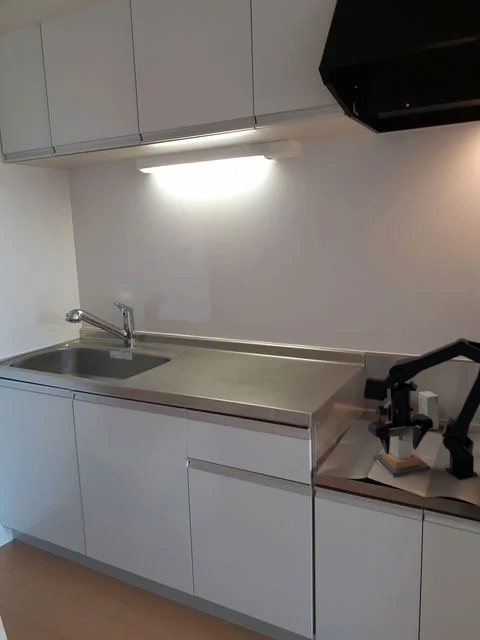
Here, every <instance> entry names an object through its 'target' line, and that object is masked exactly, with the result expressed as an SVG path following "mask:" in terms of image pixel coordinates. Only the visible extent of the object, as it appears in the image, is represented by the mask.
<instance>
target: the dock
mask: <svg viewBox="0 0 480 640" xmlns="http://www.w3.org/2000/svg"><path fill="white" fill-rule="evenodd" d="M372 459H373V460H374V461H375V460H378V461H379V462H380V463H381V464H382V465H383V466H384V467H385V468H386V469H387V470H388V471H389V472H390V473H391V474H392V475H393V476H392V475H391V474H390V473H389V472H388V471H387V472H388V473H389V474H390V475H391V476H392V477H396V476H395V475H398V476H404V475H408V473H409V474H412V473H418V472H419V473H420V472H424V471H430V470H431V466H430V465H428V463H426V462H425V461H424V460H423V459H421V458H420V457H419V456H417V454H415V453H413V452H412V451H411V458H409V459H403V460H398V461H397V460H396V459H395V458H393V457H392V456H391V449H389V454H388V455H387V454H386V453H385V451H384V450H382V451H381V453H380V454H375V455H373V458H372Z"/></svg>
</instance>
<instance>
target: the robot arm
mask: <svg viewBox="0 0 480 640" xmlns="http://www.w3.org/2000/svg"><path fill="white" fill-rule="evenodd" d="M460 356H462V357H464V358H467V359H468V360H471V361H472V362H475V363H476V364H478V365H480V342H479V341H478V342H477V341H473V340H469V339H466V338H463V337H462V338H458V339H456V340H455V341H453V342H450V343H448V344H445V345H443V346H440V347H438V348H435V349H433V350H430V351H428V352H426V353H423V354H422V355H419V356H418V355H417V356H413V357H406V358H405V357H404V358H400V359H398V360H396V361H394V363H393V364H392V365H391V367H390V368H389V370H388V375H386V377H384V378H383V379H382V378H375V377H367V378H366V379H365V385H364V391H363V396H364V397H363V398H364V400H365V401H372V402H383V403H384V402H385V401H386V399H389V398H390V400H391V404H388V407H385V408H384V405H381V404H380V405H376V406H375V415H376V416H377V417H379V416H382V418H387V420H388V421H391V423H388V424H385V423H383V422H382V421H381V420H380V421H378V420H375V421H370V422H369V423H368V425H367V429H368V430H367V431H368V432H370V433H371V434H372V435H373V436H374V437H375V438H378V439H379V441H380V442H381V446H382V447H383V451H385V453H386V454H387V455H388V454H389V450H390V448H391V436H390V431H393V430H398V429H399V430H400V429H404V428H409V427H411V430H412V449H413V450H415V451H416V450H417V449H418V447H419V445H420V444H421V441H422V440H423V439H424V437H425V435H426V434H427V433H428V432H430V431H431V430H430V429H432V428H433V420H432V419H431V418H429V417H428V416H426V415H424V414H419V413H417V414H413V415H412V412H414V408H413V407H412V405H411V403H412V401H411V400H412V399H411V398H412V397H411V396H412V392H416V391H417V390H418V387H419V385H417V384H416V383H415V382H414V381H413V380H411V379H413V378H414V377H416V376H417V375H418V374H420V373H422V372H423V371H425V370H427V369H430V368H433V367H435V366H437V365H438V366H439V365H440V364H443V363H446V362H447V361H450V360H453V359H456V358H457V357H460ZM478 367H479V368H478V373H477V374H476V377H475V379H474V381H473V383H472V385H471V387H470V389H469V391H468V394H467V396H466V398H465V399H464V402H463V404H462V406H461V407H460V411H458V414H457V415H456V417H454V418H452V417H451V416H448V419H447V424H446V425H445V426H444V427H443V430H442V432H441V433H442V434H441V437H443V438H442V444H443V445H444V448H445V449H447V450H448V451H449V466H448V467H446V468H445V471H446V472H448V473H449V475H452V476H453V477H454V478H455V479H457V480H465V479H469V478H474V477H479V474H478V472H476V471H475V470H474V466H475V465H474V464H475V463H474V462H475V461H474V460H475V456H474V455H473V450H474V445H475V441H474V440H472V438H470V437H469V436H468V433H469V428H470V424H471V423H472V421H473V419H474V416H475V414H476V413H477V412H478V408H479V406H480V366H478ZM408 381H409V382H408ZM411 415H412V416H411Z"/></svg>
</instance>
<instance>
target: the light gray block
mask: <svg viewBox="0 0 480 640" xmlns="http://www.w3.org/2000/svg"><path fill="white" fill-rule="evenodd" d="M390 450H391V456H392V457H393V458H395V459H396V460H397V461H398V460H403V459H409V458H411V452H412V440H411V439H409V438H408V437H407V436H405V435H404V434H403V433H399V434H398V436H390Z"/></svg>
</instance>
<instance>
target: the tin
mask: <svg viewBox="0 0 480 640" xmlns="http://www.w3.org/2000/svg"><path fill="white" fill-rule="evenodd" d="M388 404H391V399H389V400H388V401H387V402H386V403H385V404H384V405H383V406H384V408H385V407H388ZM380 420H381V421H382V422H383V423H385V424H388V423H391V421H388V420H387V418H382V416H378V420H377V421H380Z"/></svg>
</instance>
